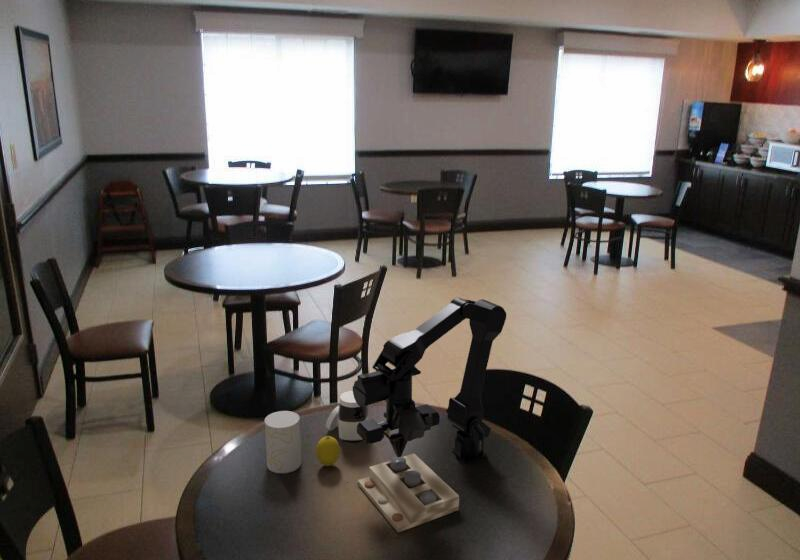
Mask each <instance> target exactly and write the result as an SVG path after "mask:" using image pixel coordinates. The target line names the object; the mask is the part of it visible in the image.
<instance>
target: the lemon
mask: <svg viewBox="0 0 800 560" xmlns="http://www.w3.org/2000/svg"><path fill="white" fill-rule="evenodd" d="M340 449H341V448H340V445H339V442H338V440H337V439H336V438H335V437H333V436H330V435H327V436H324V437H322V438H321V439H320V440H319V441H318V442H317V445H316V457H317V460H318V463H321V465H324V466H326V467H329V466H331V465H334V464H335V463H336V462H337V461H338V459H339V457H340V451H341V450H340Z"/></svg>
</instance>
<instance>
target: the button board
mask: <svg viewBox="0 0 800 560" xmlns="http://www.w3.org/2000/svg"><path fill="white" fill-rule="evenodd" d="M403 457H404V458H405V459H406V470H405V471H402V472H399V473H393V472H392V471H391V459H390V460H387V461H383V462H380V463H378V464H375V465H372V466H369V467H368V468H369V470H368V474H369V476H367V477H363V478H360V479H357V485H358V486H359V487H360V489H361V490H362V491H363V492H364V494H365V495H366V496H367V497H368V499H370V501H371V502H372V504H373V505H374V506H375V507H376V508H377V509H378V511H380V513H381V514H382V515H383V517H384V518H385V519H386V520H387V522H388V523H389V524H390V525H391V526H392V527H393V528H394V530H395V531H396V533H401V532H403V531H406V530H409V529H411V528H414V527H417V526H420V525H423V524H426V523H428V522H430V521H433V520H436V519H438V518H441V517H444V516H446V515H449V514H452V513H454V511H455V512H457V511H459V510H460V496H459V494H458V493H457V492H455V491H454V490H453V489H452V488H451V487H450V486H449V485H448V484H447V483H446V482H445V481H444V480H443V479H442V478H441V477H440V476H439V475H437V473H435V472H434V470H433V469H431V468H430V467H429V466H428V465H427V464H426V463H425V462H424V461H423V460H422V459H421V458H419V456H417V454H416V453H411V454H407V455H404V456H403ZM411 470H414V471H418V472H419V473H420V474H421V485H420V486H417V487H414V488H408V487H407V486H406V485H405V484H404V480H405V473H406V472H407V471H411ZM423 492H432V493H434V494H435V495H436V502H434V503H431V504H428V505H424V504H423V503H422V502H421V501H420V494H421V493H423Z"/></svg>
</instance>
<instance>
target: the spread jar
mask: <svg viewBox="0 0 800 560" xmlns="http://www.w3.org/2000/svg"><path fill="white" fill-rule="evenodd" d="M339 402H340V403H339V405H337V406H336V407H335V408H334V409H333V410H332V411H331V413H330V414H329V416H328V418H327V419H326V423H325V428H326V430H328V431H331V432H332V431H334V430H335V429H336V428H337V427H338V436H339V440H340V441H342V442H344V443H346V444H351V445H352V444H353V445H354V444H360V443H362V442H365V441H364V440H363V439H362V438H361V437H360V436H359V435H358V434H357V425H358V423H359V422H362V421H365V420H369V405H367V406H364V407H360V406H359V405H358V404H357V403H356V401H355V398H354V395H353V390H349V391H345V392H342V393H341V394H340V395H339Z"/></svg>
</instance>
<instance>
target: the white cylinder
mask: <svg viewBox="0 0 800 560" xmlns="http://www.w3.org/2000/svg"><path fill="white" fill-rule="evenodd" d="M300 421H301V418H300V415H299V414H298V413H297V412H294V411H290V410H279V411H276V412H272V413H270V414H268V415H267V416H266V417H265V418H264V431H265V432H264V433H265V452H266V467H267V469H268V470H269V471H270V472H273V473H276V474H288V473H291V472H294V471H296V470H298V469H299V468H300V467H301V464H302V447H301V446H302V443H301V442H302V441H301V424H300V423H301V422H300Z"/></svg>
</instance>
